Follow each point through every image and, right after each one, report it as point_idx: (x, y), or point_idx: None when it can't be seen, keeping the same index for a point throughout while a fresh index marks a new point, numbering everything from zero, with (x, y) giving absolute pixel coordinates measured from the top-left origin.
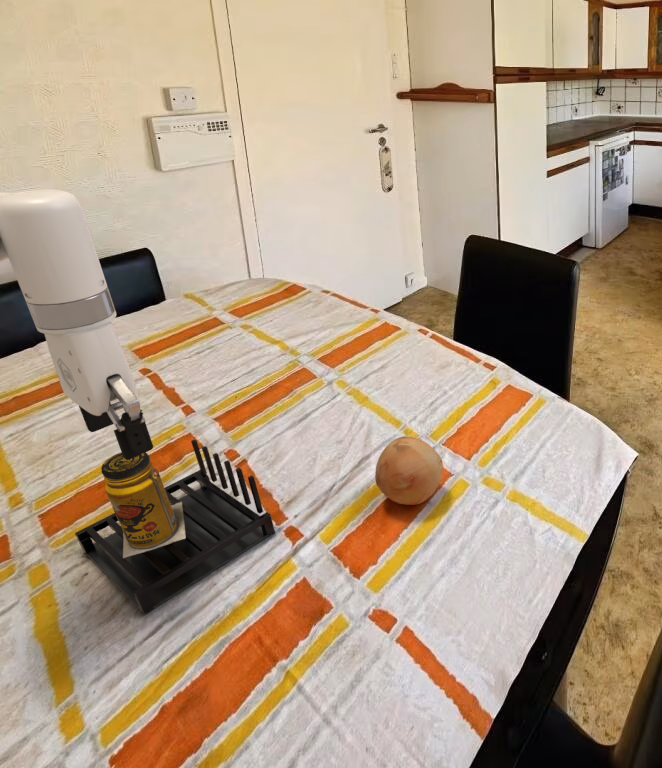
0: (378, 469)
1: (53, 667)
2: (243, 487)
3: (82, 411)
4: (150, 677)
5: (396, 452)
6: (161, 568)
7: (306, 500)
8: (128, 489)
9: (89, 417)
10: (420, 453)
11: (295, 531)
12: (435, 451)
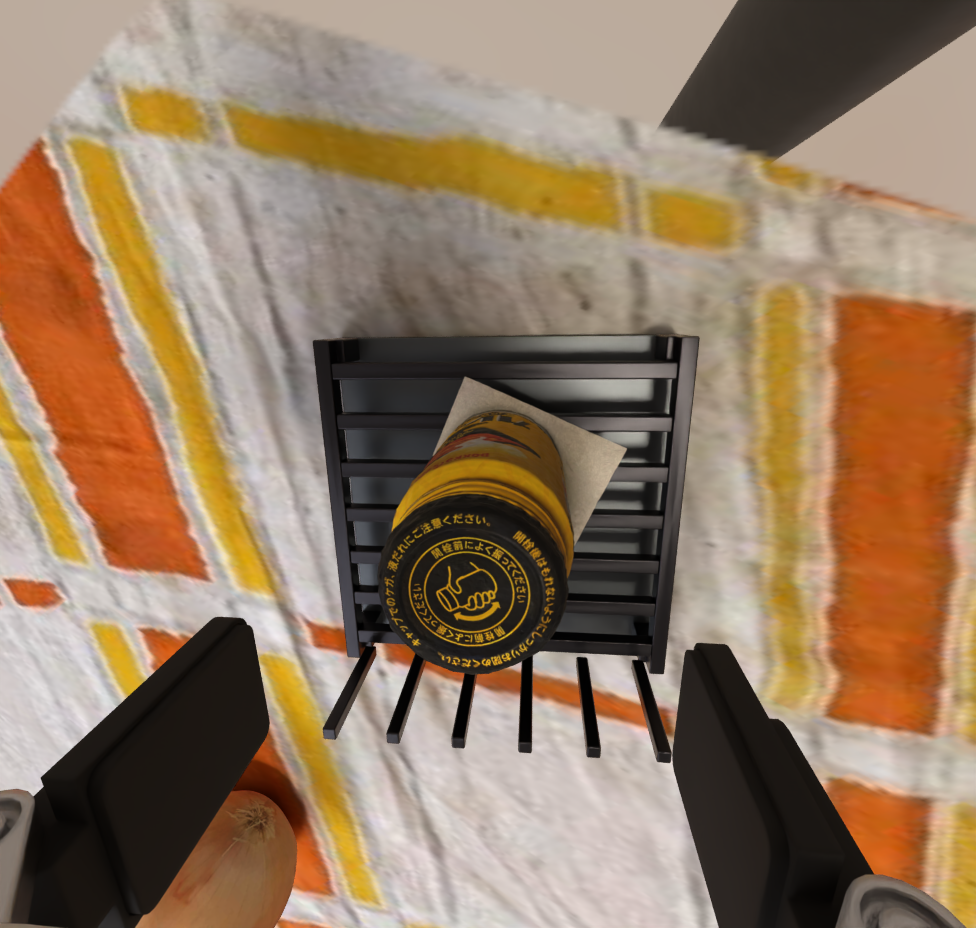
0: (218, 866)
1: (337, 136)
2: (402, 689)
3: (768, 784)
4: (170, 270)
5: None
6: (356, 420)
7: (410, 712)
8: (404, 512)
9: (720, 745)
10: None
11: (339, 645)
12: None
